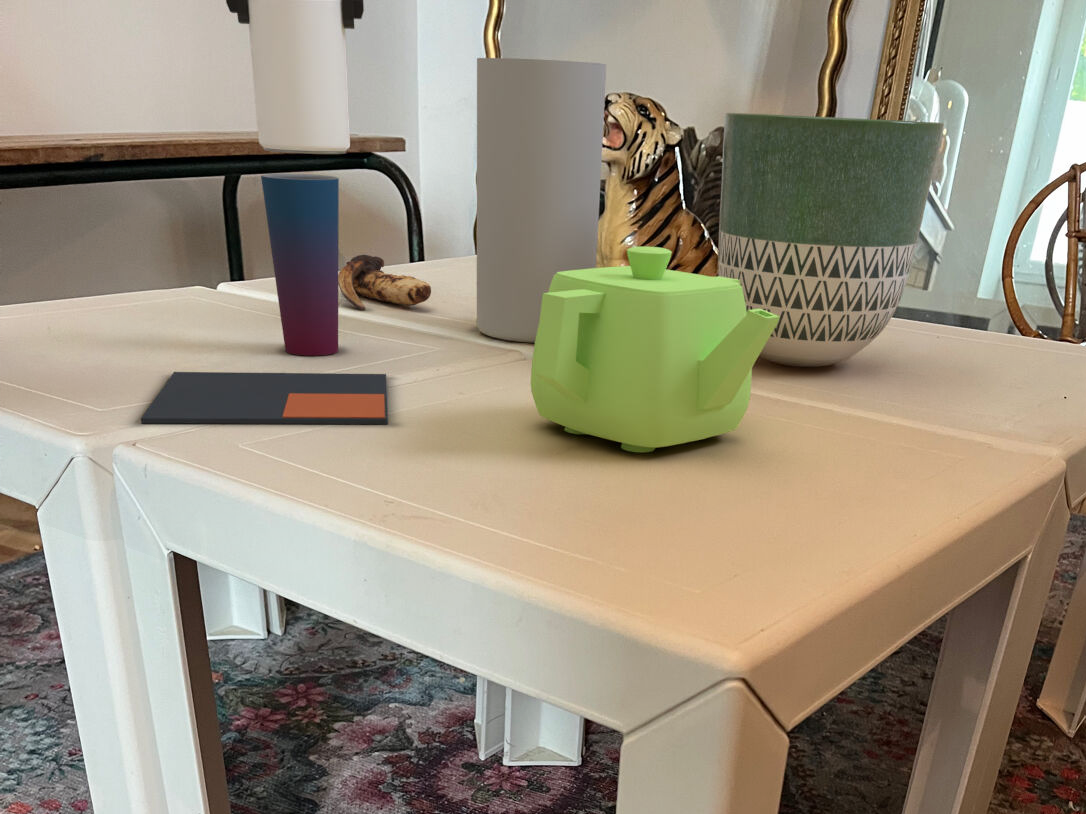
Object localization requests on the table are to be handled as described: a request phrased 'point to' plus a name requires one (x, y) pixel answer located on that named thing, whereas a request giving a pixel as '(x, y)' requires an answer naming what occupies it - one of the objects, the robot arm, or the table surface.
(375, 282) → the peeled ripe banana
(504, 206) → the cylinder vase
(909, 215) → the planter
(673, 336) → the teapot
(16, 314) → the table surface
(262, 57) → the can
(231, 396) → the mat
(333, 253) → the cup
